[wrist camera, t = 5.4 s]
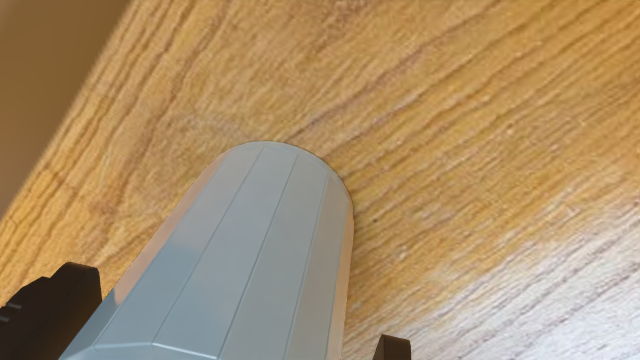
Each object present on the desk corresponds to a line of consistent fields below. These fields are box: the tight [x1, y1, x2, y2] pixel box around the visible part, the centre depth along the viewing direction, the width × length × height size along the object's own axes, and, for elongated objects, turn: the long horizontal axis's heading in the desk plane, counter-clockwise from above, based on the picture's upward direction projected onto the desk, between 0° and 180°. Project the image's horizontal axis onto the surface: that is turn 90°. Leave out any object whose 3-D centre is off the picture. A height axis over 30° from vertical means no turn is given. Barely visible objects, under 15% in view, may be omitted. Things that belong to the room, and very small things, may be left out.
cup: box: [58, 141, 354, 360], centre depth 13 cm, size 6×6×9 cm
